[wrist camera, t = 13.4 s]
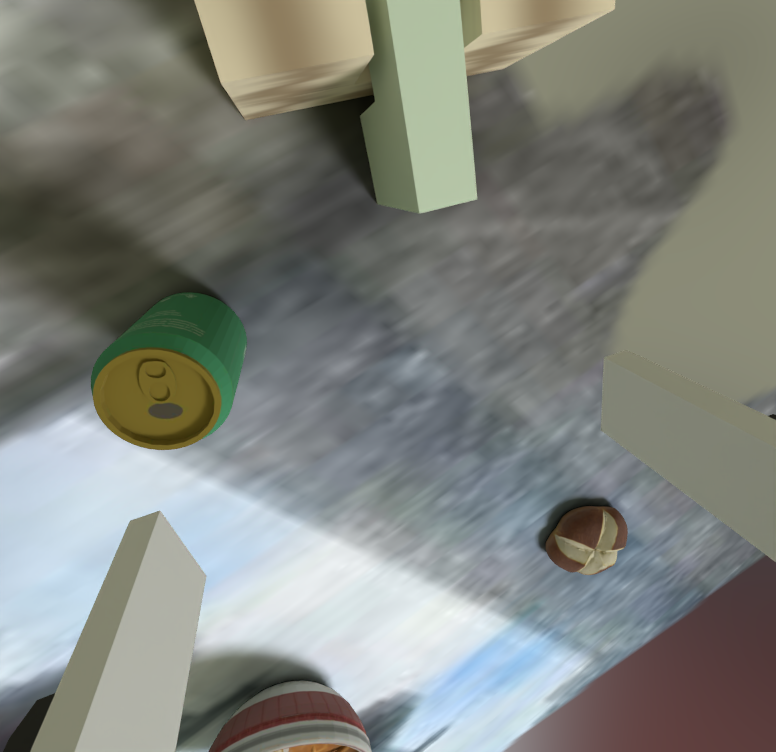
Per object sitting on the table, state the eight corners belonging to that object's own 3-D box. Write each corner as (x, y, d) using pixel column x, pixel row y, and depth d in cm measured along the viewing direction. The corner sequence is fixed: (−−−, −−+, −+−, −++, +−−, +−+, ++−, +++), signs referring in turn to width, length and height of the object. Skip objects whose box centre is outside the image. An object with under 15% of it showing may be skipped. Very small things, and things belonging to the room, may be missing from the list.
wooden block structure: (245, 120, 29) (220, 83, 18) (227, 60, 27) (188, -20, 16) (502, 68, 31) (614, 9, 20) (500, 10, 29) (620, -88, 19)
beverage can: (155, 378, 35) (99, 462, 24) (138, 288, 32) (63, 340, 21) (251, 375, 37) (236, 452, 26) (243, 290, 34) (223, 338, 23)
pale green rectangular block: (417, 194, 33) (477, 199, 23) (377, 204, 33) (419, 213, 22) (370, -115, 25) (430, -334, 14) (315, -107, 25) (336, -326, 14)
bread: (585, 560, 62) (608, 589, 58) (531, 550, 58) (551, 580, 53) (628, 507, 59) (656, 533, 54) (574, 492, 54) (599, 519, 50)
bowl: (180, 690, 53) (159, 789, 45) (346, 635, 56) (357, 718, 48) (235, 762, 64) (227, 853, 55) (373, 713, 67) (386, 793, 58)
